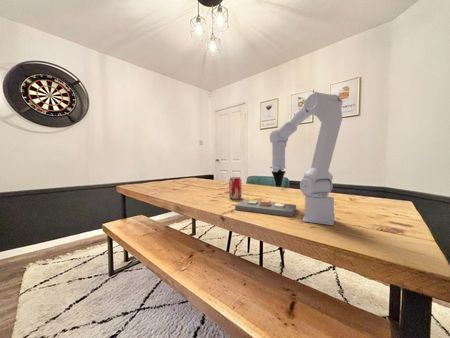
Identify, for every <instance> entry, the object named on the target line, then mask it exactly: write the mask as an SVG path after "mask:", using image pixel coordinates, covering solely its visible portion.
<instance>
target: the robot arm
mask: <svg viewBox="0 0 450 338" xmlns="http://www.w3.org/2000/svg"><path fill="white" fill-rule="evenodd" d="M343 102H344V100H342V99H341V98H340V96H338V95H337V94H329V93H323V92H319V91H313V92H310V94H309V95H308V96H307V97H306V98H305V99H304V100H303V105H302V107H301V108H300V109H299V110H298V111H297V112H296V114H295V115H294V116H293V117H292V118H291V119H287V120H285V121H284V122H283V124H282V125H281V126H280V127H279V128H277V129H276V130H272V131H271V132H270V135H269V142H270V143H271V145H272V146H271V148H272V150H271V152H272V153H271V155H272V159H271V160H272V161H271V162H272V164H271V165H272V166H269V169H272V171H271V174H272V176H273V179H274V182H275V183H274V184H275V187H277V188H280V187H282V184H283V179H284V176H285V174H286V171H285V169H286V147H287V144H288V143H287V142H288V139H289V137H291V136H292V134H294V133H295V132H296V131H297V130H298V126H299V125H300V124H302V123H303V122H304V121H305V120H306V119H308V118H309V117H310V116H316V118H317V119H318V121H320V122H321V123H320V127H319V131H318V136H317V141H316V144H315V145H316V146H315V149H314V154H313V158H312V161H311V166H310V168H309V169H308V170H307V171H306V172H305V173H304V174H303V177H302V179H301V180H300V181H299V182H300V183H299V189H300V191H301V192H302V195H303V196H304V214H303V217H302V222H306V223H313V224H320V225H328V226H334V223H335V222H334V221H335V220H334V219H335V211H334V210H335V200H334V199H335V197H333V196H329V195H330V193H331V191H332V190H333V178H334V176H333V174H332V173H330V171H329V170H330V165H331V163H332V158H333V155H334V151H335V147H336V143H337V139H338V136H339V132H340V128H341V124H342V120H343V113H342V106H343Z"/></svg>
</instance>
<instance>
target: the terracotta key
mask: <svg viewBox="0 0 450 338" xmlns="http://www.w3.org/2000/svg"><path fill="white" fill-rule="evenodd" d="M259 201H260V206H267V207H269V206H271V199H269V200H268V199H262V200H259Z"/></svg>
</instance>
